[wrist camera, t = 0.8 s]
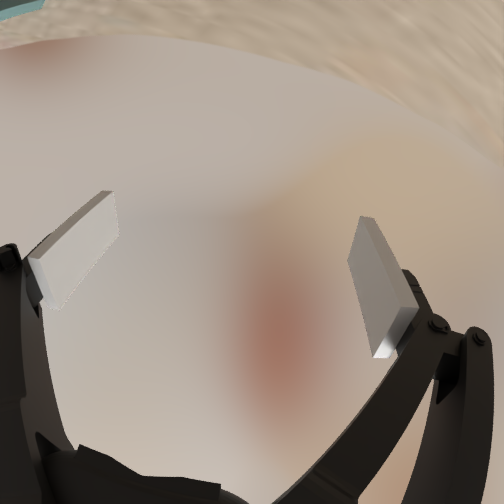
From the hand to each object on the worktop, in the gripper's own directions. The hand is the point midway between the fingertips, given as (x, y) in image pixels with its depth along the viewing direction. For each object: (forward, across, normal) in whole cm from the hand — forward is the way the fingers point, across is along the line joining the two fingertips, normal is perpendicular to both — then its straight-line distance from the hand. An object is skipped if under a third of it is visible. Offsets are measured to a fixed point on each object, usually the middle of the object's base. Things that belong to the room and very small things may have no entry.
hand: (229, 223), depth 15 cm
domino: (+20, -35, +24) cm, 47 cm away
